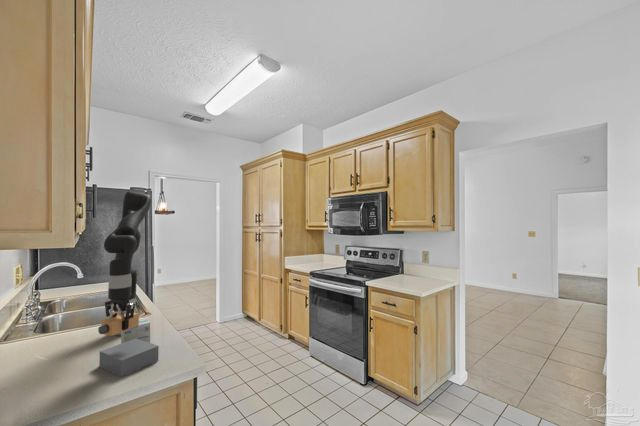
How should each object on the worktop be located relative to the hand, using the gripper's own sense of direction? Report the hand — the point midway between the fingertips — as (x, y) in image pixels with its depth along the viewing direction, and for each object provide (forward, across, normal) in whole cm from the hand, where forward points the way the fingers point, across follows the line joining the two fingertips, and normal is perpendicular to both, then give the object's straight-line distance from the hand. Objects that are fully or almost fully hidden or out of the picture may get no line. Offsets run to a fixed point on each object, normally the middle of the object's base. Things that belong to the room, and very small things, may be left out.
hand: (119, 328), depth 113 cm
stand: (+15, -1, -3) cm, 16 cm away
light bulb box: (+16, +11, -16) cm, 25 cm away
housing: (+1, 0, 0) cm, 1 cm away
